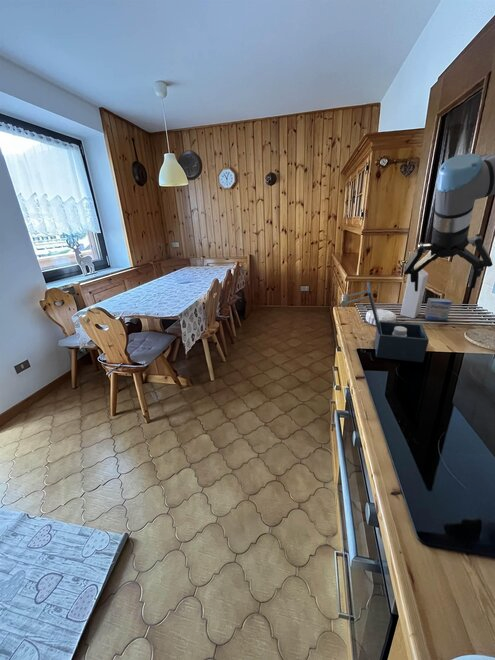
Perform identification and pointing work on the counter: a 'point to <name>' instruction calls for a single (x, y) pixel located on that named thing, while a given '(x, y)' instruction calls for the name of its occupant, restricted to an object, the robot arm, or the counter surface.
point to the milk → (414, 295)
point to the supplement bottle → (400, 331)
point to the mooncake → (380, 316)
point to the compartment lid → (370, 296)
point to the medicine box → (437, 309)
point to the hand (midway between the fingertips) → (442, 286)
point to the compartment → (401, 342)
